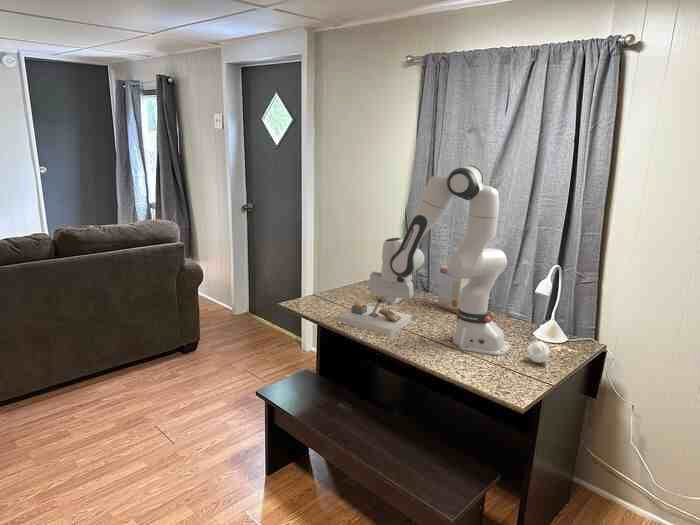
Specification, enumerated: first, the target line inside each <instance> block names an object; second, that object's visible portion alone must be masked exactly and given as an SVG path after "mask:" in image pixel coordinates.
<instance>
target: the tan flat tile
mask: <svg viewBox="0 0 700 525" xmlns="http://www.w3.org/2000/svg"><path fill="white" fill-rule="evenodd" d="M391 311H392V310H390V309H388V308H386V307H382V308H381V310H379V312H378V313H380V314H382V315H383V316H385V317H387V318H389V319H390V320H392V321H394V322H397V321H398V320H400V319H401V317H400V316H398V315H397V314H395V313H393V312H391Z"/></svg>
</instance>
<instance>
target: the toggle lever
mask: <svg viewBox="0 0 700 525" xmlns="http://www.w3.org/2000/svg"><path fill="white" fill-rule="evenodd" d="M381 303H383V300H382V298H378V299H377V302H376V304H375V306H374V307H375V308H374V310H373V311H372V313H373V314H375V313H376V311H377V309H378V308H380V305H381Z"/></svg>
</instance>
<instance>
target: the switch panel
mask: <svg viewBox="0 0 700 525" xmlns="http://www.w3.org/2000/svg"><path fill="white" fill-rule="evenodd" d="M374 308H375V306H372V305H368V304H363V307H362V308H358V307H356V303H355V304H353V305H352V306H351V308H350V310H349V311H347V312H345V313H343V314H341V315H340V316H339V317H338V323H339V322H342V323H345V324H348V325H347V326H349V325H352V326H351V327H353V326H355V327H354V328H357V327H359V328H358V329H361V328H362V329H363V330H365V329H366V331H369V330H370V331H369V332H373V331H374V333H377V334H381V335H386V336H390V337H392V336H393V335H394V334H396V333H397V332H399V331H400V330H401V329H402V328H404V327H406V325H408V324H410V323H411V322H412V315H411V314H407V313H402V312H398V311H394V310H390V311H391V312H393V313H395V314H397V315H398V316H400V317H401V319H400V320H398V321H397V322H394V321H392V320H390V319H389V318H387V317H385V316H383V315H382V314H380V313H378V312H379V310H381V309H382V308H381V307H378V309H377V311H376V313H375V314H373V313H372V311H373V310H374ZM345 324H344V325H345Z"/></svg>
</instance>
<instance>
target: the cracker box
mask: <svg viewBox="0 0 700 525" xmlns="http://www.w3.org/2000/svg"><path fill="white" fill-rule="evenodd" d="M469 281H470V278H468V279H463V278H455V277H453V276H452V275H451V274H450V273H449V271H448V267H447V264H446V265H445V264H444V265H441V266H440V272H439V282H438V284H439V286H438V298H437V307H439V308H441V309H444V310H446V311H449V312H452V313H454V314H456V315H457V313H458V308H459V306H460V294H461V290H462V288H463V287H464V286H465V285H466V284H467V283H468V282H469Z"/></svg>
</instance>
